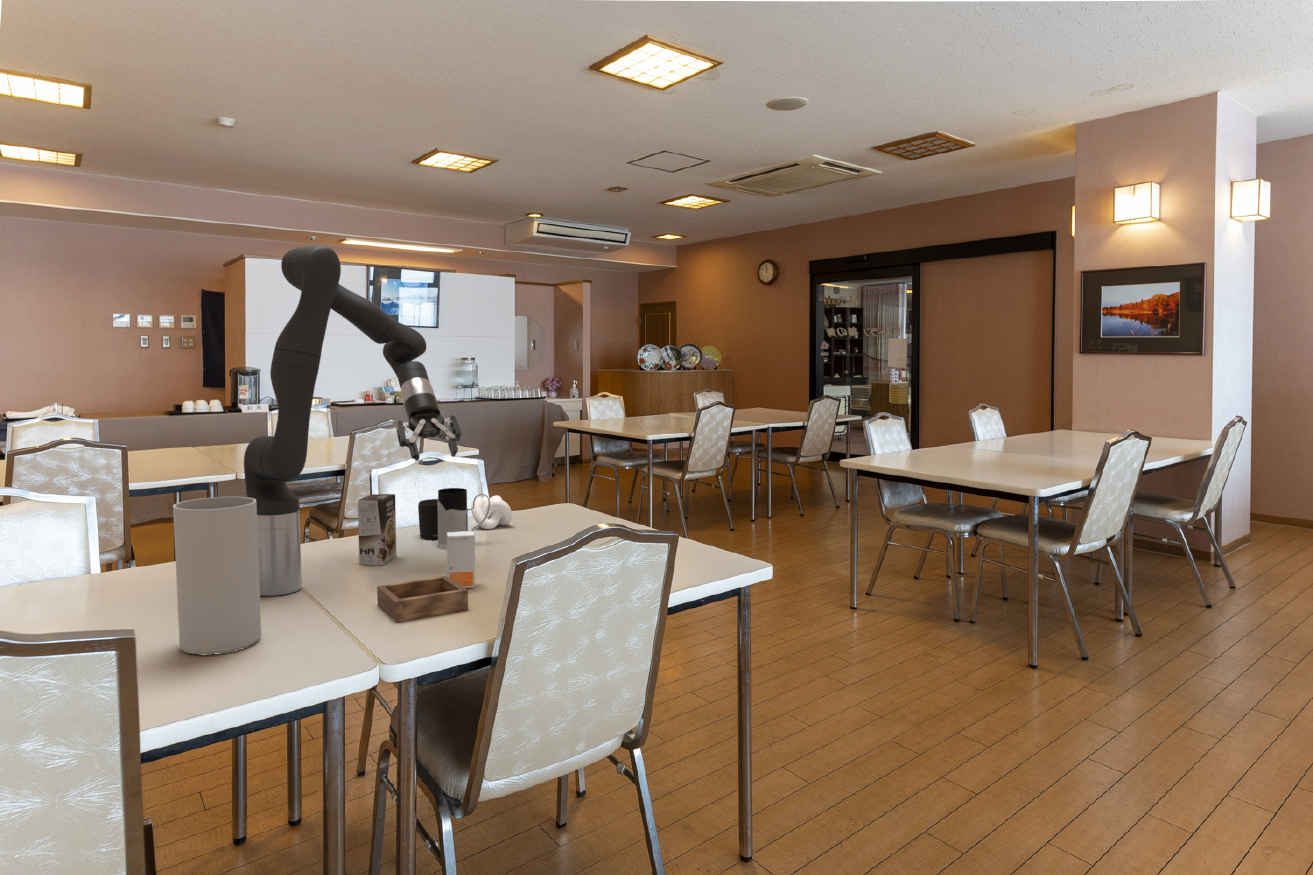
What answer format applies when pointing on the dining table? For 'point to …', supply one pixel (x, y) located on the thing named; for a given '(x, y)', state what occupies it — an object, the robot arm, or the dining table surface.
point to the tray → (422, 598)
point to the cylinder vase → (217, 574)
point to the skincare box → (461, 558)
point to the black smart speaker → (428, 519)
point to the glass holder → (453, 513)
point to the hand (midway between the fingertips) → (436, 456)
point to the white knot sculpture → (491, 512)
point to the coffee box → (377, 529)
